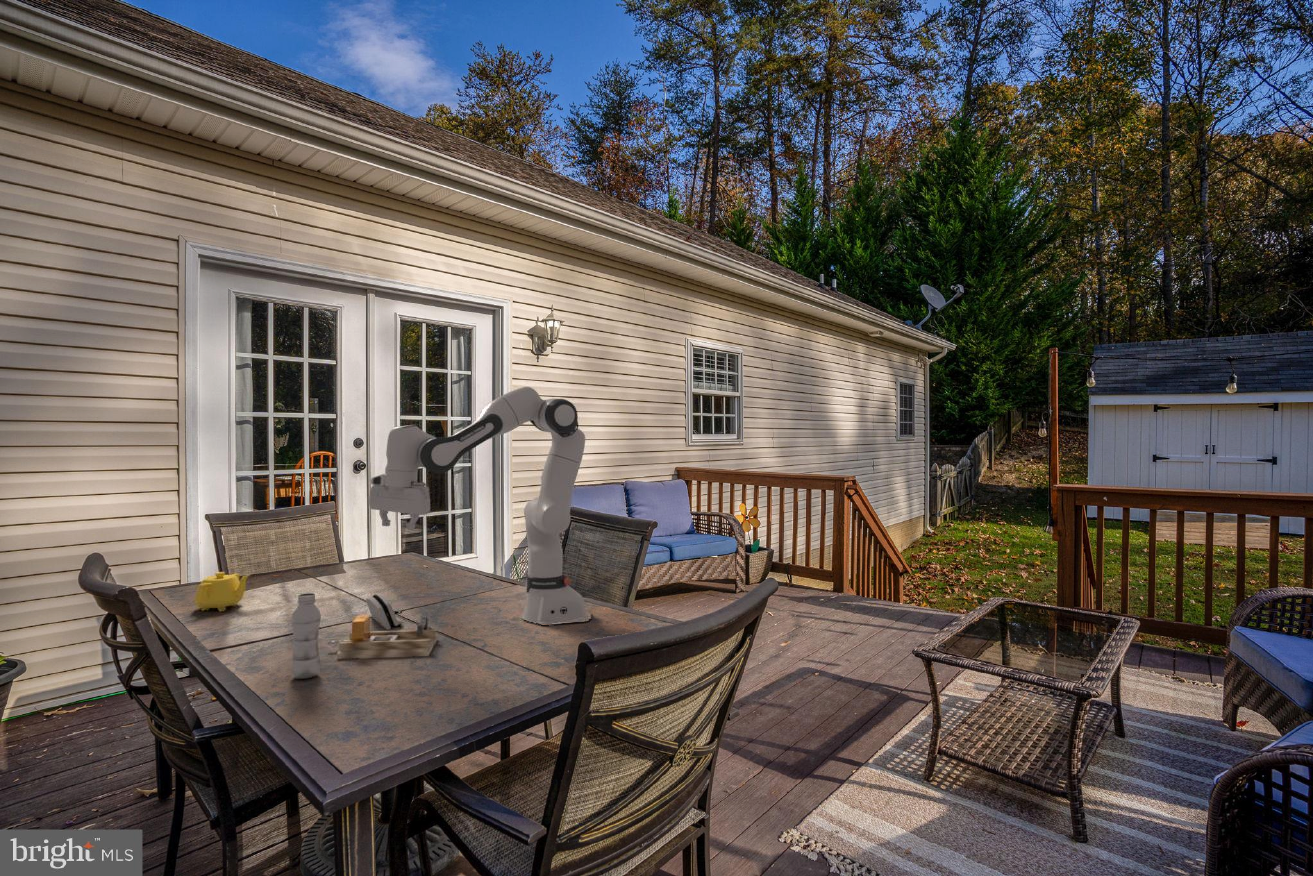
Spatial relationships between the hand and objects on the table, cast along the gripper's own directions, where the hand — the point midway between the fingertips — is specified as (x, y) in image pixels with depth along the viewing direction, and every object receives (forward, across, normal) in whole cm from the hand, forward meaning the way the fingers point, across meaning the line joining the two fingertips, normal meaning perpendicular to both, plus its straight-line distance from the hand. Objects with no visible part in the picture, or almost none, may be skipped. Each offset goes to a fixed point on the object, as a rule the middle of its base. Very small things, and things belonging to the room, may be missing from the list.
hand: (398, 527), depth 187 cm
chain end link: (+31, -1, +12) cm, 33 cm away
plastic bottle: (+33, -4, +32) cm, 46 cm away
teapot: (+34, +72, +1) cm, 80 cm away
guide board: (+32, -7, +8) cm, 34 cm away
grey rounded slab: (+32, +14, -10) cm, 36 cm away
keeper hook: (+30, -12, +1) cm, 32 cm away
